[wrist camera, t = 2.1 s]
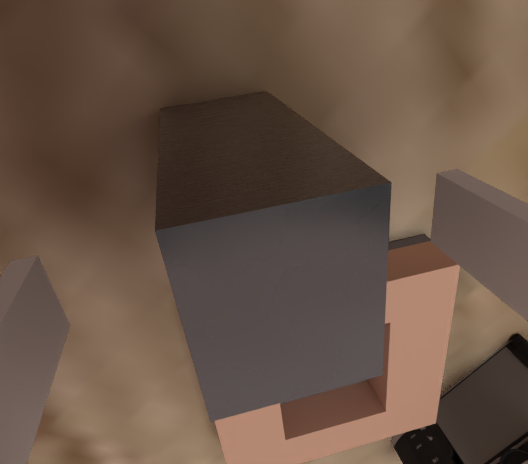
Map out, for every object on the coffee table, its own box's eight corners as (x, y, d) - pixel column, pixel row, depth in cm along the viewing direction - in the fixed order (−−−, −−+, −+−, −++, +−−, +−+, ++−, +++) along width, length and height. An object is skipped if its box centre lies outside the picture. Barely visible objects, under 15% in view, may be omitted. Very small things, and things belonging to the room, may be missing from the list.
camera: (426, 466, 39) (501, 595, 30) (372, 439, 34) (441, 579, 26) (559, 364, 35) (686, 476, 27) (517, 320, 31) (651, 436, 23)
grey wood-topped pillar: (160, 109, 18) (155, 230, 8) (266, 91, 19) (391, 182, 8) (188, 223, 21) (210, 421, 11) (279, 205, 22) (382, 375, 11)
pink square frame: (185, 288, 23) (188, 329, 20) (424, 234, 25) (460, 264, 22) (225, 436, 30) (232, 483, 27) (410, 384, 32) (435, 423, 29)
